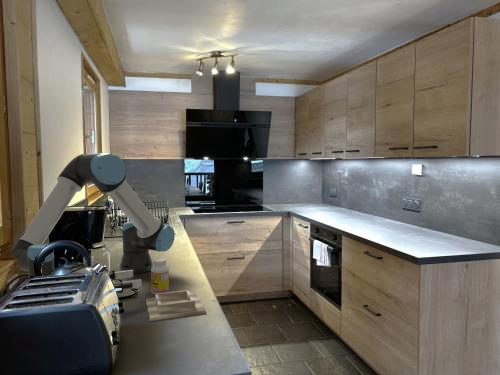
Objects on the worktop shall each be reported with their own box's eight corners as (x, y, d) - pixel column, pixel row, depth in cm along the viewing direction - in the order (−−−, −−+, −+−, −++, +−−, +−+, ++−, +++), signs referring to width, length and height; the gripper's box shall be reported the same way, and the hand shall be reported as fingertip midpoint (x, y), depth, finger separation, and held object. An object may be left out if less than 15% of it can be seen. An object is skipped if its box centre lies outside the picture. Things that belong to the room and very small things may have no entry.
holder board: (145, 301, 137) (145, 292, 136) (195, 295, 143) (195, 286, 142) (149, 320, 120) (149, 310, 120) (205, 313, 126) (205, 303, 125)
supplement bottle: (148, 292, 146) (147, 259, 145) (163, 288, 151) (162, 256, 150) (157, 296, 141) (156, 263, 141) (172, 292, 146) (171, 259, 145)
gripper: (71, 287, 142) (130, 279, 152) (78, 309, 120) (145, 298, 131) (71, 267, 142) (129, 260, 152) (77, 286, 120) (145, 276, 130)
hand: (137, 278), depth 141 cm, fingers open, 13 cm apart
